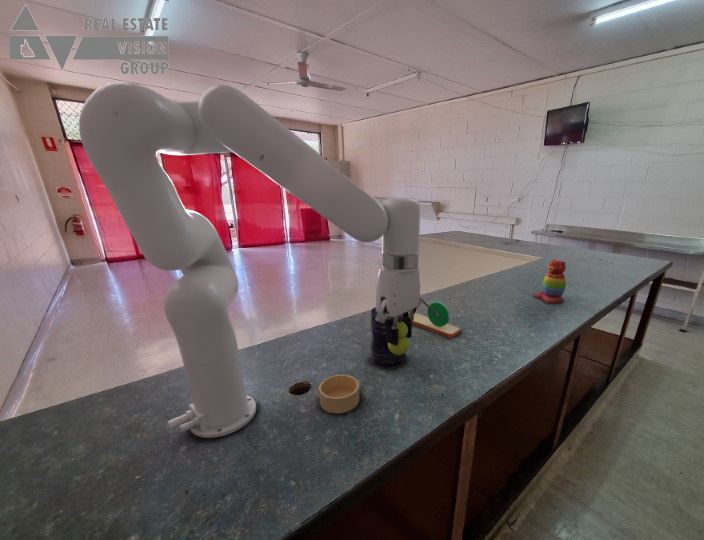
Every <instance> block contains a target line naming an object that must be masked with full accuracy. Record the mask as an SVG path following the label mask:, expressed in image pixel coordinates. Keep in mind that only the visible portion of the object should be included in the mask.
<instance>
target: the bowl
mask: <svg viewBox="0 0 704 540" xmlns="http://www.w3.org/2000/svg"><path fill="white" fill-rule="evenodd" d="M318 398H319V404H320V408H322V409H323V411H325V412H327V413H330V414H344V413H348V412H350V411H352V410H354V409H355V408H356V407H357V406H358V404H359V403H360V382H359V381H358V379H357V378H355V377H354V376H352V375H348V374H334V375H331V376H328V377H326V378H324V379H323V380H322V382H320V384H319V387H318Z"/></svg>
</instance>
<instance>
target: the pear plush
mask: <svg viewBox="0 0 704 540" xmlns="http://www.w3.org/2000/svg"><path fill="white" fill-rule="evenodd" d="M396 328H397V329H398V345H396V346H395V345H393V344H390V343H388V347H389V349H390V351H391V352H392V353H393V354H396V355H402V354H404V353H405V354H406V353H407V352H408V350H409V348H410V341H409V338H407V337H406V335H407V333H408V327H407V325H406V324H405V323H404V322H401V319H400V318H399V319H398V321H397V327H396Z"/></svg>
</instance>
